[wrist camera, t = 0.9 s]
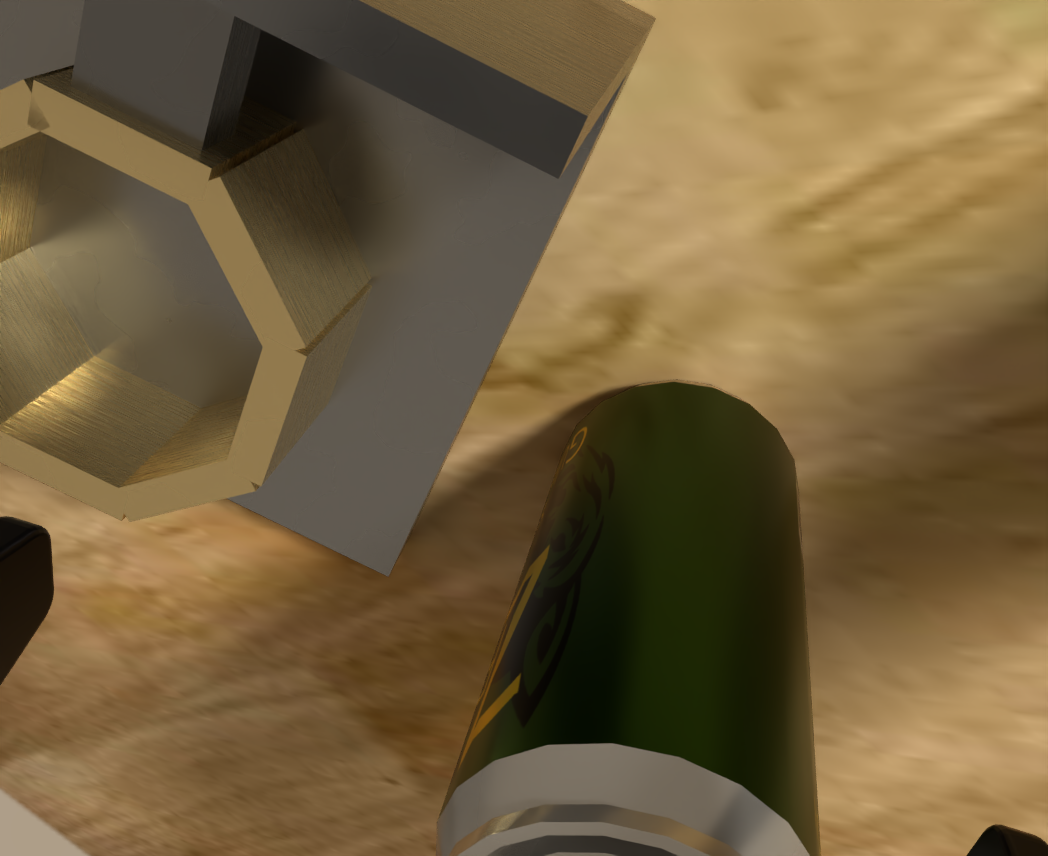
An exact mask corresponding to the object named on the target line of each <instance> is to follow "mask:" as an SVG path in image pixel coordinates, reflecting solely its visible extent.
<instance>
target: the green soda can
mask: <svg viewBox="0 0 1048 856" xmlns="http://www.w3.org/2000/svg"><path fill="white" fill-rule="evenodd" d="M436 856H821V848H820V832H819V815H818V799H817V782H816V766H815V749H814V733H813V716H812V700H811V683H810V667H809V650H808V634H807V617H806V600H805V584H804V567H803V551H802V534H801V518H800V501H799V489H798V482H797V475H796V468H795V461H794V458H793V456H792V455H791V453H790V451H789V449H788V447H787V446H786V444H785V442H784V440H783V438H782V437H781V435H780V433H779V431H778V430H777V428H775V427H774V426H773V425H772V424H771V423H770V422H769V421H768V420H767V419H765V418H764V417H763V416H762V415H761V414H760V413H759V412H758V411H757V410H755V409H754V408H753V407H752V406H751V405H750V404H749V403H747V402H745V401H744V400H742V399H741V398H739V397H737V396H734V395H732V394H730V393H728V392H726V391H724V390H721V389H719V388H717V387H715V386H713V385H711V384H704V383H698V382H691V381H684V380H678V379H676V380H668V381H660V382H653V383H645V384H641V385H638V386H636V387H633V388H631V389H629V390H627V391H624V392H622V393H620V394H618V395H616V396H613V397H611V398H609V399H607V400H605V401H602V402H601V403H600V404H599V405H598V406H597V407H596V408H595V409H593V410H592V411H591V412H590V413H589V414H588V415H587V416H586V417H585V418H584V419H583V420H582V421H580V422H579V423H578V424H577V426H576V427H575V429H574V431H573V433H572V435H571V437H570V439H569V441H568V443H567V445H566V447H565V449H564V451H563V453H562V456H561V459H560V462H559V465H558V468H557V471H556V474H555V477H554V480H553V482H552V485H551V488H550V491H549V494H548V497H547V500H546V503H545V506H544V509H543V512H542V515H541V518H540V521H539V524H538V527H537V530H536V533H535V535H534V538H533V541H532V544H531V547H530V550H529V553H528V556H527V559H526V562H525V565H524V568H523V571H522V574H521V577H520V580H519V583H518V586H517V588H516V591H515V594H514V597H513V600H512V603H511V606H510V609H509V612H508V615H507V618H506V621H505V624H504V627H503V630H502V633H501V636H500V639H499V641H498V644H497V647H496V650H495V653H494V656H493V659H492V662H491V665H490V668H489V671H488V674H487V677H486V680H485V683H484V686H483V689H482V692H481V694H480V697H479V700H478V703H477V706H476V709H475V712H474V715H473V718H472V721H471V724H470V727H469V730H468V733H467V736H466V739H465V742H464V745H463V747H462V750H461V753H460V756H459V759H458V762H457V765H456V768H455V771H454V774H453V777H452V780H451V783H450V786H449V789H448V792H447V795H446V798H445V800H444V803H443V806H442V809H441V812H440V815H439V818H438V821H437V840H436Z"/></svg>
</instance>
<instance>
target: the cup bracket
mask: <svg viewBox="0 0 1048 856" xmlns="http://www.w3.org/2000/svg"><path fill="white" fill-rule="evenodd" d="M655 19H656V18H654V17H652V16H650V15H648V14H646V13H645V12H643V11H641V10H639V9H637V8H635V7H633V6H631V5H629V4H627V3H625V2H623V1H621V0H0V462H1V463H3V464H5V465H7V466H9V467H11V468H13V469H15V470H17V471H19V472H21V473H23V474H25V475H28V476H30V477H32V478H34V479H36V480H38V481H40V482H42V483H44V484H46V485H48V486H50V487H52V488H55V489H57V490H59V491H61V492H63V493H65V494H67V495H69V496H71V497H73V498H75V499H77V500H79V501H82V502H84V503H86V504H88V505H90V506H92V507H94V508H96V509H98V510H100V511H102V512H104V513H106V514H109V515H111V516H113V517H115V518H117V519H119V520H121V521H122V520H123V519H124V518H125V517H127V519H128V520H129V522H132V521H136V520H140V519H144V518H148V517H152V516H156V515H160V514H164V513H169V512H173V511H177V510H181V509H185V508H189V507H193V506H197V505H201V504H205V503H209V502H214V501H218V500H222V499H226V498H227V499H229V500H231V501H233V502H235V503H237V504H239V505H241V506H243V507H245V508H247V509H249V510H251V511H253V512H255V513H258V514H260V515H262V516H264V517H266V518H268V519H270V520H272V521H274V522H276V523H278V524H280V525H282V526H284V527H286V528H289V529H291V530H293V531H295V532H297V533H299V534H301V535H303V536H305V537H307V538H309V539H311V540H313V541H315V542H317V543H320V544H322V545H324V546H326V547H328V548H330V549H332V550H334V551H336V552H338V553H340V554H342V555H344V556H346V557H348V558H351V559H353V560H355V561H357V562H359V563H361V564H363V565H365V566H367V567H369V568H371V569H373V570H375V571H377V572H379V573H381V574H384V575H386V576H389V575H390V573H391V571H392V569H393V567H394V565H395V563H396V561H397V559H398V557H399V556H400V554H401V552H402V550H403V548H404V546H405V544H406V542H407V540H408V538H409V536H410V534H411V532H412V530H413V528H414V525H415V523H416V521H417V519H418V517H419V515H420V513H421V511H422V509H423V507H424V504H425V502H426V500H427V498H428V496H429V494H430V492H431V490H432V488H433V486H434V483H435V481H436V479H437V477H438V475H439V473H440V471H441V469H442V467H443V465H444V462H445V460H446V458H447V456H448V454H449V452H450V450H451V448H452V446H453V444H454V441H455V439H456V437H457V435H458V433H459V431H460V429H461V427H462V425H463V423H464V420H465V418H466V416H467V414H468V412H469V410H470V408H471V406H472V404H473V402H474V399H475V397H476V395H477V393H478V391H479V389H480V387H481V385H482V383H483V381H484V378H485V376H486V374H487V372H488V370H489V368H490V366H491V364H492V362H493V360H494V357H495V355H496V353H497V351H498V349H499V347H500V345H501V343H502V341H503V339H504V336H505V334H506V332H507V330H508V328H509V326H510V324H511V322H512V320H513V318H514V315H515V313H516V311H517V309H518V307H519V305H520V303H521V301H522V299H523V297H524V294H525V292H526V290H527V288H528V286H529V284H530V282H531V280H532V278H533V276H534V273H535V271H536V269H537V267H538V265H539V263H540V261H541V259H542V257H543V255H544V252H545V250H546V248H547V246H548V244H549V242H550V240H551V238H552V236H553V234H554V231H555V229H556V227H557V225H558V223H559V221H560V219H561V217H562V215H563V213H564V210H565V208H566V206H567V204H568V202H569V200H570V198H571V196H572V194H573V192H574V189H575V187H576V185H577V183H578V181H579V179H580V177H581V175H582V173H583V171H584V168H585V166H586V164H587V162H588V160H589V158H590V156H591V154H592V152H593V150H594V148H595V145H596V143H597V141H598V139H599V137H600V135H601V133H602V131H603V129H604V127H605V124H606V122H607V120H608V118H609V116H610V114H611V112H612V110H613V108H614V106H615V103H616V101H617V99H618V97H619V95H620V93H621V91H622V89H623V87H624V85H625V82H626V80H627V78H628V76H629V74H630V72H631V70H632V68H633V66H634V64H635V61H636V59H637V57H638V55H639V53H640V51H641V49H642V47H643V45H644V43H645V40H646V38H647V36H648V34H649V32H650V30H651V28H652V26H653V24H654V22H655Z"/></svg>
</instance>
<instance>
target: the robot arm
mask: <svg viewBox="0 0 1048 856" xmlns="http://www.w3.org/2000/svg"><path fill="white" fill-rule="evenodd" d="M53 595H54V583H53V566H52V550H51V539H50V535H49V533H48V531H47V530H46V529H45V528H43V527H42V526H39V525H36V524H33V523H30V522H27V521H23V520H20V519H17V518H14V517H7V516H5V517H0V685H1V684H2V682H3V681H4V679H5V678H6V676H7V675H8V673H9V672H10V670H11V669H12V667H13V666H14V664H15V663H16V661H17V659H18V658H19V656H20V655H21V653H22V652H23V650H24V649H25V647H26V646H27V644H28V643H29V641H30V640H31V638H32V637H33V635H34V634H35V632H36V631H37V629H38V628H39V626H40V625H41V623H42V622H43V620H44V618H45V617H46V615H47V613H48V611H49V609H50V606H51V603H52V600H53ZM967 856H1048V845H1047V843H1046V842H1045V841H1043V840H1042V839H1041V838H1039V837H1037V836H1035V835H1033V834H1029V833H1026V832H1023V831H1020V830H1017V829H1013V828H1010V827H1007V826H1004V825H996V824H995V825H992V826H990V827H988V828H987V829H986V830H985V831H984V832H983V833H982V835H981V836H980V838H979V839H978V840H977V842H976V843H975V845H974V846H973V847H972V849H971V850H970V851H969V853H968V854H967Z"/></svg>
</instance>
